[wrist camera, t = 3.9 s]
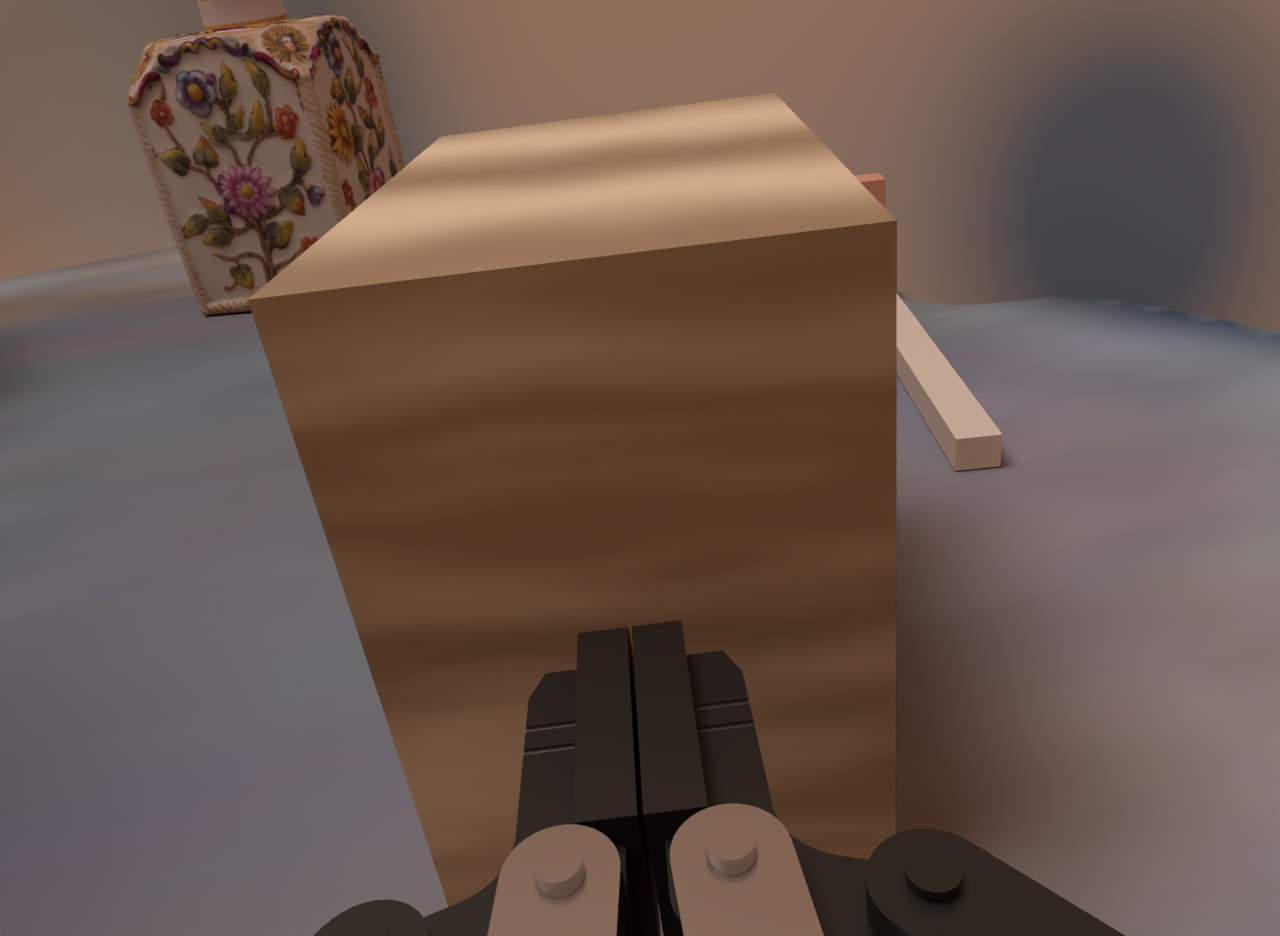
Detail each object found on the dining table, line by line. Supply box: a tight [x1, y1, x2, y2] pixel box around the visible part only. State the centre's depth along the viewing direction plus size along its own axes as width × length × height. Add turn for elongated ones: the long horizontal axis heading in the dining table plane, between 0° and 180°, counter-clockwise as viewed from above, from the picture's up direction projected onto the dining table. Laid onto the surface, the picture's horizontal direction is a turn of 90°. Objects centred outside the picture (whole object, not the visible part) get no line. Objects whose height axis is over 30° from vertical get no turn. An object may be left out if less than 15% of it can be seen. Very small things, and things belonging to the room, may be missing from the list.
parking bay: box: [855, 173, 1002, 471], centre depth 40 cm, size 19×23×6 cm
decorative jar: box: [126, 0, 405, 315], centre depth 60 cm, size 12×12×18 cm
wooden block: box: [248, 93, 897, 907], centre depth 22 cm, size 14×9×13 cm, turn 0°
